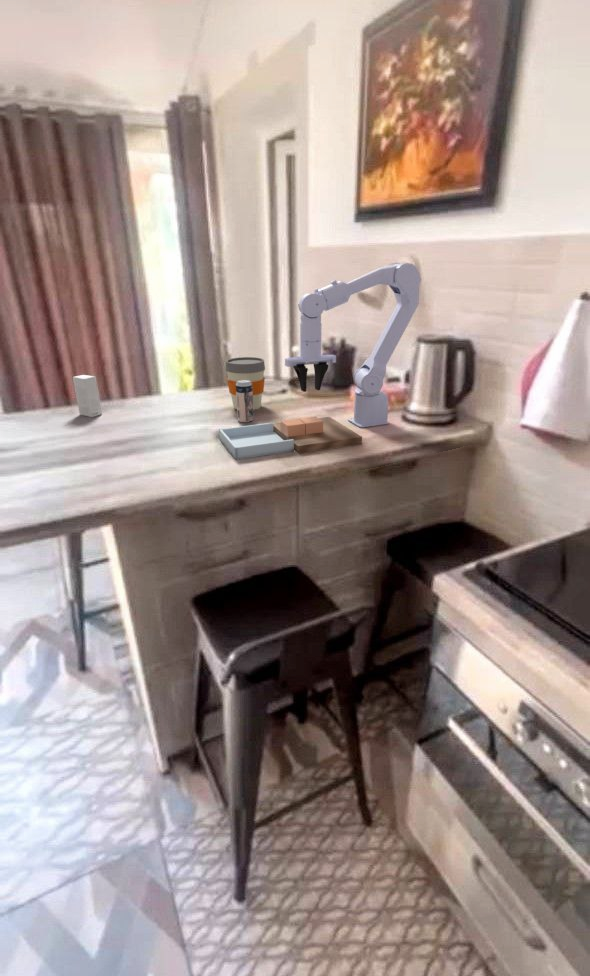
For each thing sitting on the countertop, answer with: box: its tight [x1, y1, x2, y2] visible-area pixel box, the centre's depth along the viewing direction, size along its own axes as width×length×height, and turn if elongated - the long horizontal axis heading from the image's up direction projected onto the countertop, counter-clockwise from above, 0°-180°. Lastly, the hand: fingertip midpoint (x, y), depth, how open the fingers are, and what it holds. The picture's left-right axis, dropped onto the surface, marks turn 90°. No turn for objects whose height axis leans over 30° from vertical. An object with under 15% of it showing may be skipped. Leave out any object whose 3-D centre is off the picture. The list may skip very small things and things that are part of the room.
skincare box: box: [72, 374, 103, 418], centre depth 159 cm, size 6×4×12 cm
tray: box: [218, 422, 295, 460], centre depth 134 cm, size 15×16×3 cm
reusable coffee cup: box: [225, 356, 266, 411], centre depth 165 cm, size 13×13×15 cm
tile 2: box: [298, 416, 323, 434], centre depth 138 cm, size 5×5×3 cm
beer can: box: [236, 380, 255, 423], centre depth 152 cm, size 5×5×12 cm
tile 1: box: [280, 418, 305, 437], centre depth 136 cm, size 5×5×3 cm
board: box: [273, 416, 363, 454], centre depth 139 cm, size 18×20×2 cm
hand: (310, 390), depth 145 cm, fingers open, 4 cm apart
